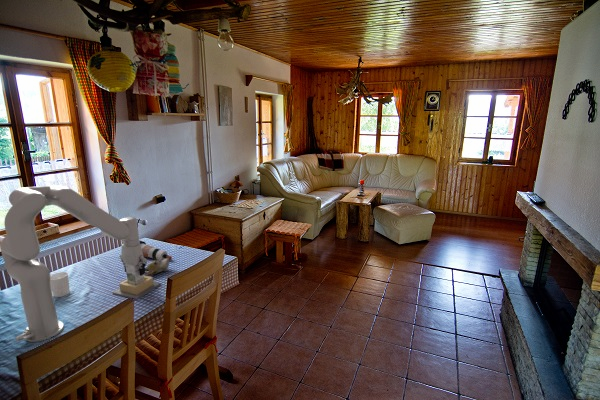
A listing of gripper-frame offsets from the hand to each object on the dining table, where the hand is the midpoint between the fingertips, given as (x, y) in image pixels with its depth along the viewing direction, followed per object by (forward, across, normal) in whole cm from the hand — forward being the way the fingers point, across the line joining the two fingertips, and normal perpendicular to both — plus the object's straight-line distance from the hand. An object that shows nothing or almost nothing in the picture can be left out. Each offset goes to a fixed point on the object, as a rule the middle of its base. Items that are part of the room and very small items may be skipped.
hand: (135, 272), depth 166 cm
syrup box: (+8, 0, 0) cm, 9 cm away
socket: (+9, 0, 0) cm, 9 cm away
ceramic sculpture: (+10, -4, +18) cm, 21 cm away
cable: (+10, -24, +33) cm, 42 cm away
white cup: (+10, -32, -17) cm, 37 cm away
